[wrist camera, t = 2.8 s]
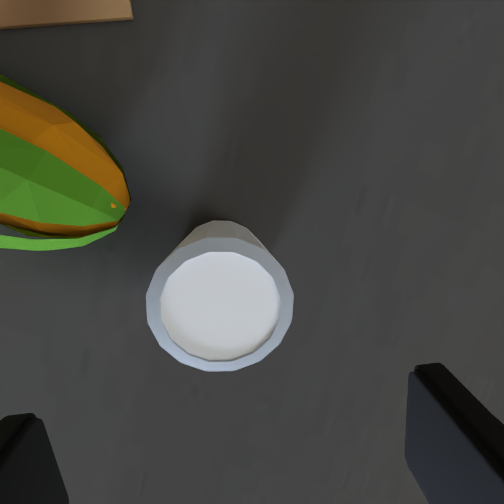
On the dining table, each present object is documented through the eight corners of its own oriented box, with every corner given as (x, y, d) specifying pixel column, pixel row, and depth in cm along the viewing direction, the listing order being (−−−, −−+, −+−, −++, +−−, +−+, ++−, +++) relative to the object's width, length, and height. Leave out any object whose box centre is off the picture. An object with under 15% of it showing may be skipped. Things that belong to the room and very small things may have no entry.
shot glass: (260, 317, 24) (274, 383, 17) (160, 300, 23) (134, 362, 16) (284, 222, 22) (312, 254, 15) (177, 199, 21) (157, 222, 14)
